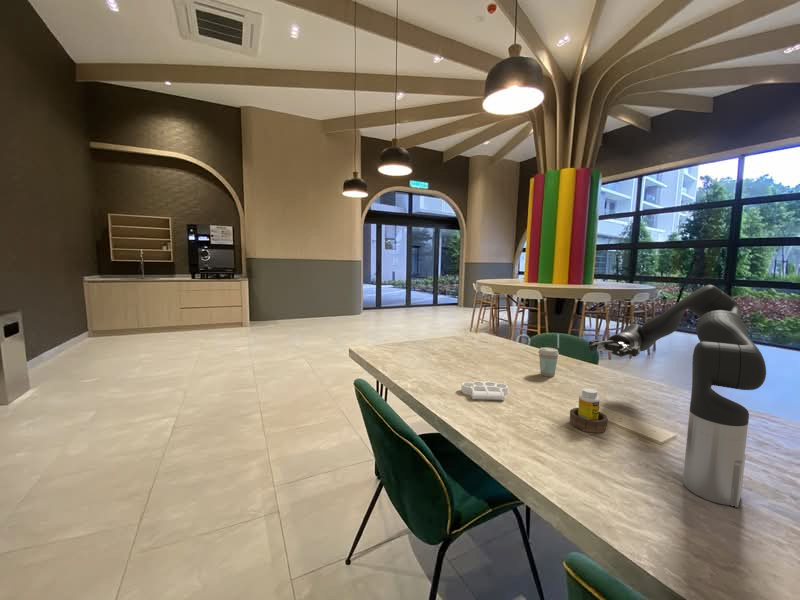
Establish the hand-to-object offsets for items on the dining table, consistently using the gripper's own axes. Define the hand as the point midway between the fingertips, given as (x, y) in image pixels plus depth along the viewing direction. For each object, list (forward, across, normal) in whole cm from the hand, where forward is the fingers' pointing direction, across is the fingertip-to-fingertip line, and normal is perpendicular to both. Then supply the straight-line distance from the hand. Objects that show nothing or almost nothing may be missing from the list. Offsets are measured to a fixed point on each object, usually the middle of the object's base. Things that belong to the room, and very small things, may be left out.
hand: (605, 350), depth 109 cm
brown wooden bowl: (+11, 0, +22) cm, 25 cm away
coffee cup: (-27, -32, +22) cm, 47 cm away
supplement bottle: (+11, 0, +21) cm, 24 cm away
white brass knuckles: (+14, -36, +23) cm, 45 cm away
